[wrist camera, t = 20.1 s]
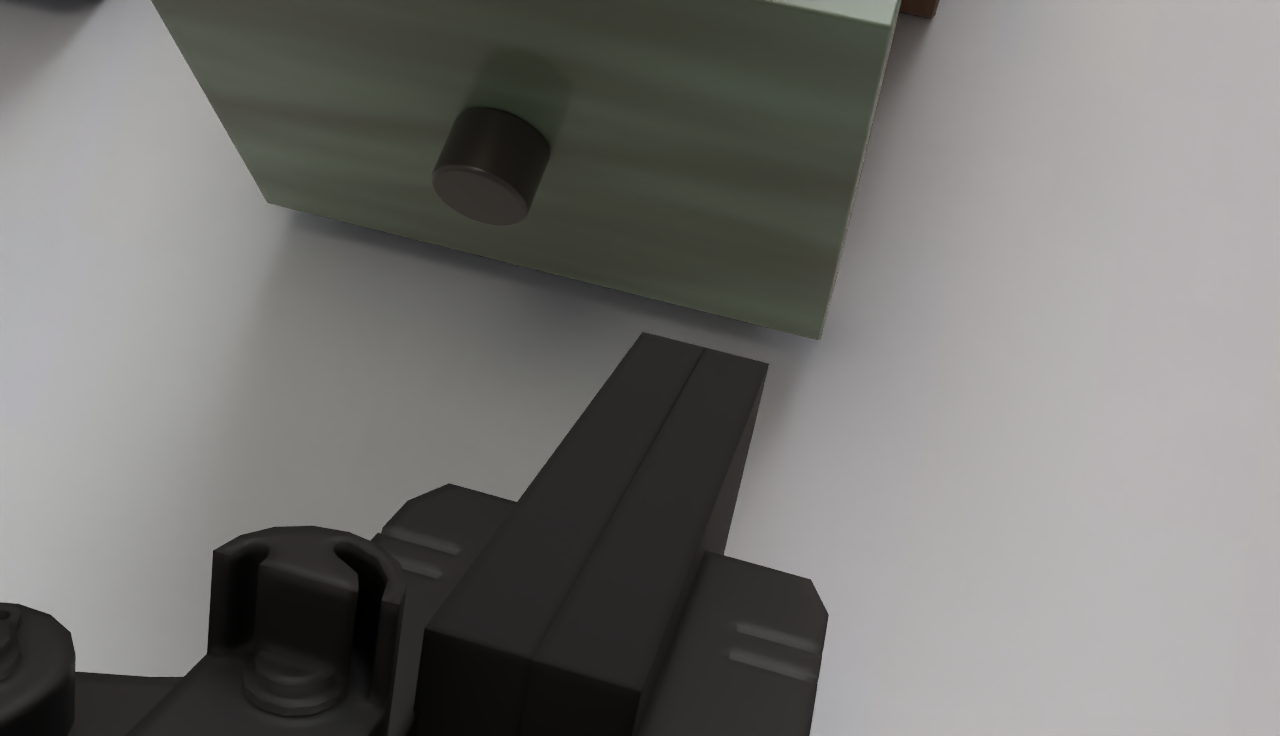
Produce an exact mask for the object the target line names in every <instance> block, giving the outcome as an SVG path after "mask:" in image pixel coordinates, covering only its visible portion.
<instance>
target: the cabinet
mask: <svg viewBox="0 0 1280 736" xmlns="http://www.w3.org/2000/svg"><path fill="white" fill-rule="evenodd" d="M938 3H939V0H902V2H901V6H900V10H899V12H904V13H908V14H913V15H918V16H923V17H928V18H933V17H934V16H935V14H936V10H937V7H938Z"/></svg>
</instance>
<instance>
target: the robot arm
mask: <svg viewBox="0 0 1280 736" xmlns="http://www.w3.org/2000/svg"><path fill="white" fill-rule="evenodd" d="M768 365H769V364H768V363H764V362H760V361H756V360H752V359H748V358H744V357H740V356H736V355H732V354H728V353H724V352H720V351H716V350H712V349H708V348H704V347H700V346H696V345H692V344H688V343H684V342H680V341H676V340H672V339H669V338H665V337H661V336H657V335H653V334H649V333H645V332H642V333H641V335H640V336H639V338H638V339H637V340H636V342H635V343H634V344H633V346H632V347H631V348H630V350H629V351H628V352H627V354H626V355H625V357H624V358H623V359H622V361H621V362H620V363H619V365H618V366H617V367H616V369H615V370H614V371H613V373H612V374H611V376H610V377H609V378H608V380H607V381H606V382H605V384H604V385H603V386H602V388H601V389H600V390H599V392H598V393H597V395H596V396H595V397H594V399H593V400H592V401H591V403H590V404H589V405H588V407H587V408H586V409H585V411H584V412H583V414H582V415H581V416H580V418H579V419H578V420H577V422H576V423H575V424H574V426H573V427H572V428H571V430H570V431H569V433H568V434H567V435H566V437H565V438H564V439H563V441H562V442H561V443H560V445H559V446H558V447H557V449H556V450H555V452H554V453H553V454H552V456H551V457H550V458H549V460H548V461H547V462H546V464H545V465H544V466H543V468H542V469H541V471H540V472H539V473H538V475H537V476H536V477H535V479H534V480H533V481H532V483H531V484H530V485H529V487H528V488H527V490H526V491H525V492H524V494H523V495H522V496H521V498H520V499H519V500H518V502H515V501H511V500H507V499H504V498H500V497H497V496H493V495H489V494H486V493H482V492H478V491H475V490H471V489H468V488H464V487H460V486H457V485H453V484H450V483H449V484H447V485H444V486H442V487H440V488H437V489H435V490H432V491H430V492H428V493H425V494H423V495H420V496H418V497H416V498H413V499H411V500H408V501H407V502H406V503H405V504H404V505H403V506H402V507H401V508H400V510H399V511H398V512H397V513H396V514H395V515H394V516H393V517H392V518H391V519H390V520H389V521H388V522H387V524H386V525H385V526H384V527H383V529H382V532H381V534H380V533H377V534H376V535H375V536H374V537H373V539H372V540H371V541H369V540H367V539H364V538H362V537H360V536H357V535H355V534H352V533H350V532H345V531H340V530H334V529H328V528H322V527H316V526H290V527H272V528H268V529H264V530H260V531H256V532H252V533H248V534H244V535H240V536H238V537H236V538H235V539H233V540H231V541H229V542H228V543H226V544H224V545H222V546H221V547H219V548H217V549H215V550H214V551H213V564H212V581H211V598H210V614H209V631H208V648H207V654H206V655H205V656H204V657H203V658H202V659H201V660H200V661H199V662H198V663H197V664H196V665H195V666H194V667H193V668H192V669H191V670H190V671H189V672H188V673H187V674H186V675H185V676H184V677H142V676H128V675H114V674H100V673H87V672H75V651H74V646H73V641H72V637H71V632H69V631H68V630H67V629H66V628H65V627H64V626H63V625H61V624H60V623H59V622H58V621H57V620H56V619H55V618H54V617H52V616H51V615H49V614H46V613H43V612H41V611H38V610H35V609H32V608H29V607H26V606H23V605H20V604H12V603H0V736H809V735H810V729H811V722H812V716H813V710H814V703H815V697H816V691H817V685H818V684H817V682H818V678H819V672H820V666H821V659H822V651H823V647H824V640H825V634H826V628H827V622H828V613H827V611H826V609H825V607H824V605H823V603H822V601H821V599H820V597H819V595H818V593H817V591H816V589H815V587H814V585H813V583H812V581H811V579H807V578H803V577H800V576H796V575H792V574H789V573H785V572H782V571H778V570H774V569H771V568H767V567H764V566H760V565H756V564H753V563H749V562H746V561H742V560H738V559H735V558H731V557H727V556H724V550H725V546H726V542H727V538H728V534H729V529H730V525H731V521H732V517H733V513H734V508H735V504H736V500H737V496H738V491H739V487H740V483H741V479H742V475H743V470H744V466H745V462H746V458H747V454H748V449H749V445H750V441H751V437H752V433H753V428H754V424H755V420H756V416H757V412H758V407H759V403H760V399H761V395H762V391H763V386H764V382H765V378H766V374H767V370H768Z"/></svg>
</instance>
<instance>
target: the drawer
mask: <svg viewBox="0 0 1280 736" xmlns="http://www.w3.org/2000/svg"><path fill="white" fill-rule="evenodd" d="M151 1H152V3H153V4H154V6H155V8H156V10H157V11H158V13H159V15H160V16H161V18H162V20H163V22H164V23H165V25H166V27H167V29H168V30H169V32H170V34H171V36H172V37H173V39H174V41H175V43H176V44H177V46H178V48H179V50H180V51H181V53H182V55H183V57H184V58H185V60H186V62H187V63H188V65H189V67H190V69H191V70H192V72H193V74H194V76H195V77H196V79H197V81H198V83H199V84H200V86H201V88H202V90H203V91H204V93H205V95H206V97H207V98H208V100H209V102H210V104H211V105H212V107H213V109H214V110H215V112H216V114H217V116H218V117H219V119H220V121H221V123H222V124H223V126H224V128H225V130H226V131H227V133H228V135H229V137H230V138H231V140H232V142H233V144H234V145H235V147H236V149H237V151H238V152H239V154H240V156H241V157H242V159H243V161H244V163H245V164H246V166H247V168H248V170H249V171H250V173H251V175H252V177H253V178H254V180H255V182H256V184H257V185H258V187H259V189H260V191H261V192H262V194H263V196H264V198H265V199H266V201H267V202H268V203H271V204H275V205H279V206H283V207H287V208H291V209H295V210H299V211H303V212H307V213H311V214H315V215H319V216H323V217H327V218H331V219H335V220H339V221H343V222H347V223H351V224H355V225H359V226H363V227H367V228H371V229H375V230H379V231H383V232H387V233H391V234H395V235H399V236H403V237H407V238H411V239H415V240H419V241H423V242H427V243H431V244H435V245H439V246H443V247H447V248H451V249H455V250H459V251H463V252H467V253H471V254H475V255H479V256H483V257H487V258H491V259H495V260H499V261H503V262H507V263H511V264H515V265H519V266H523V267H527V268H531V269H535V270H539V271H543V272H547V273H551V274H555V275H559V276H563V277H567V278H571V279H575V280H579V281H583V282H587V283H591V284H595V285H599V286H603V287H607V288H611V289H615V290H619V291H623V292H627V293H631V294H635V295H639V296H643V297H647V298H651V299H655V300H659V301H663V302H667V303H672V304H676V305H680V306H684V307H688V308H692V309H696V310H700V311H704V312H708V313H712V314H716V315H720V316H724V317H728V318H732V319H736V320H740V321H744V322H748V323H752V324H756V325H760V326H764V327H768V328H772V329H776V330H780V331H784V332H788V333H792V334H796V335H800V336H804V337H808V338H812V339H816V340H820V338H821V335H822V331H823V328H824V324H825V320H826V316H827V312H828V309H829V305H830V301H831V297H832V293H833V290H834V286H835V281H836V277H837V273H838V269H839V264H840V260H841V256H842V252H843V248H844V243H845V239H846V235H847V231H848V226H849V222H850V218H851V214H852V209H853V205H854V201H855V197H856V192H857V188H858V184H859V180H860V175H861V171H862V167H863V163H864V158H865V154H866V150H867V146H868V142H869V137H870V133H871V129H872V125H873V120H874V116H875V112H876V108H877V103H878V99H879V95H880V91H881V86H882V82H883V78H884V74H885V69H886V65H887V61H888V57H889V53H890V48H891V44H892V40H893V36H894V31H895V27H896V23H897V19H898V14H899V10H900V6H901V2H902V0H151Z"/></svg>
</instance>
